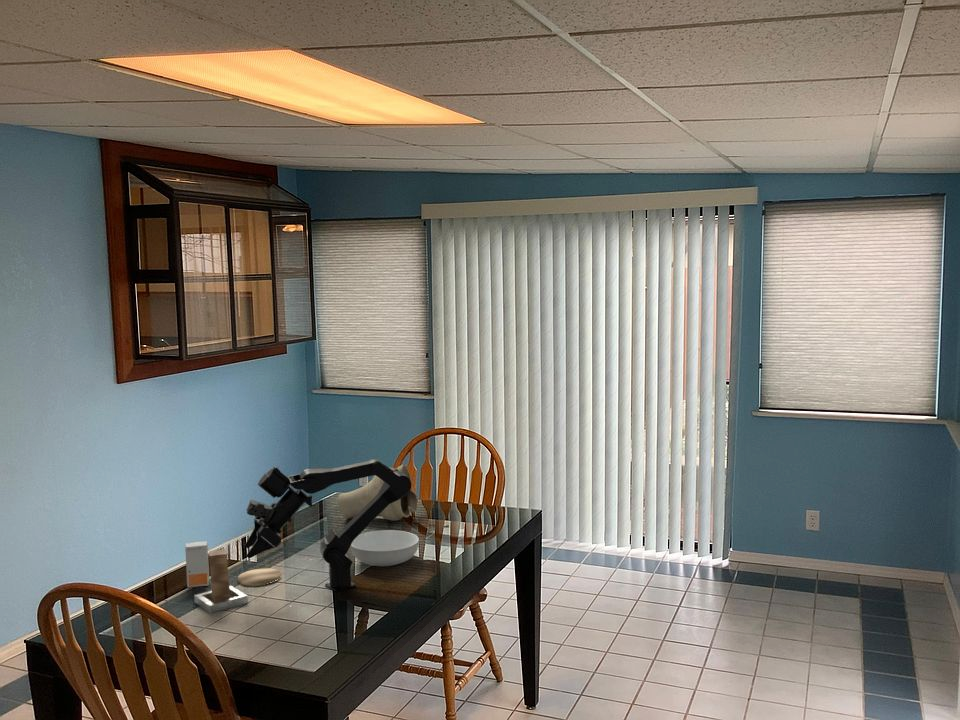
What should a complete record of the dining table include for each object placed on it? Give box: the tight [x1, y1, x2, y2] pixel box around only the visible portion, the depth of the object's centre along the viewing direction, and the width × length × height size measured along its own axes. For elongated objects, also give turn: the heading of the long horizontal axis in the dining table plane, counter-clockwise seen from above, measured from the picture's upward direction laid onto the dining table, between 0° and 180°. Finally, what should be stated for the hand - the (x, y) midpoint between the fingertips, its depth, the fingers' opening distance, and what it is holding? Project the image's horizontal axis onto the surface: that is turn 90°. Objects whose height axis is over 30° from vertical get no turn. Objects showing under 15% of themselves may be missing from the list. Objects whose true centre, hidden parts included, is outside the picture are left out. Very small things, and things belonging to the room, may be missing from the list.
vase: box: [337, 464, 418, 522], centre depth 317 cm, size 23×23×30 cm
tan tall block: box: [208, 548, 231, 603], centre depth 241 cm, size 4×4×14 cm
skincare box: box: [184, 540, 210, 588], centre depth 255 cm, size 6×4×12 cm
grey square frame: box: [193, 585, 249, 614], centre depth 241 cm, size 10×10×2 cm
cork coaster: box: [237, 567, 281, 587], centre depth 259 cm, size 12×12×1 cm
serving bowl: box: [349, 529, 420, 567], centre depth 271 cm, size 21×21×7 cm
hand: (246, 552), depth 242 cm, fingers open, 9 cm apart
